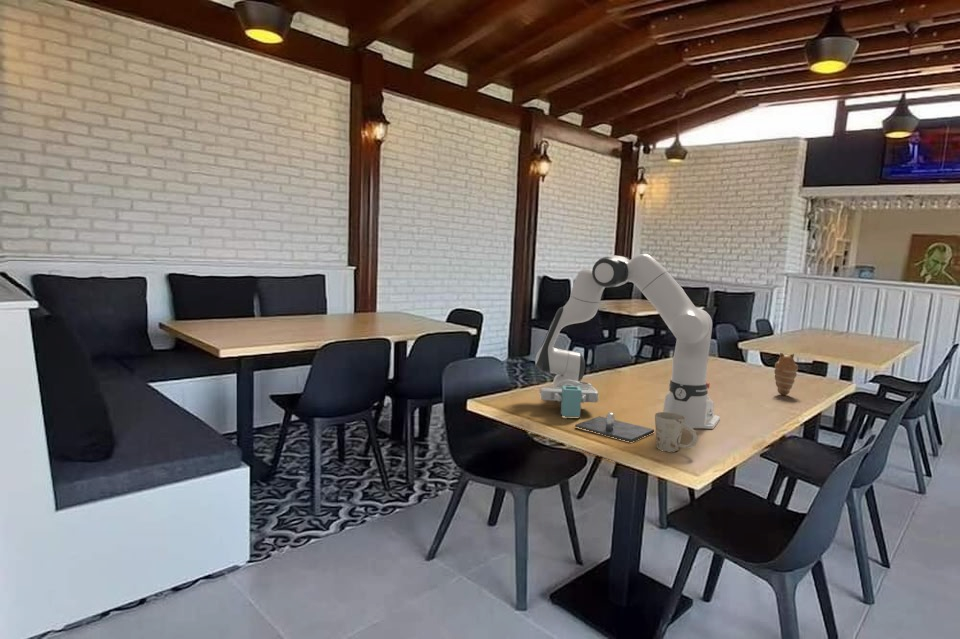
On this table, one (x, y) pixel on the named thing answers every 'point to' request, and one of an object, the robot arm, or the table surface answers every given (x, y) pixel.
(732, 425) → the table surface
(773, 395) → the table surface
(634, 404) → the table surface
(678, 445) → the mug
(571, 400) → the sleeve
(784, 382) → the cat ice cream
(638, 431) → the plate
